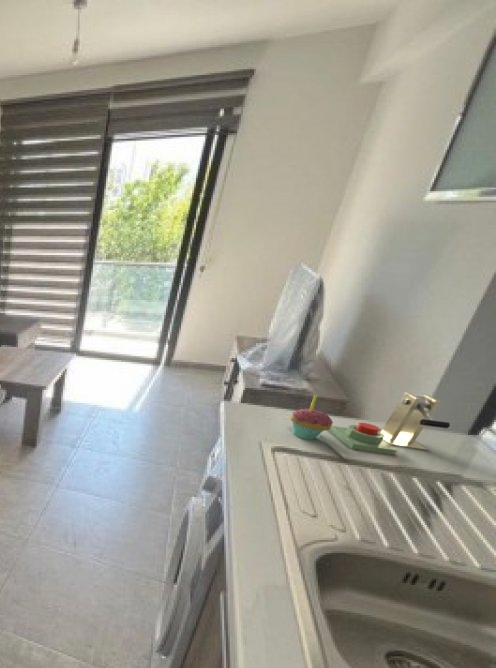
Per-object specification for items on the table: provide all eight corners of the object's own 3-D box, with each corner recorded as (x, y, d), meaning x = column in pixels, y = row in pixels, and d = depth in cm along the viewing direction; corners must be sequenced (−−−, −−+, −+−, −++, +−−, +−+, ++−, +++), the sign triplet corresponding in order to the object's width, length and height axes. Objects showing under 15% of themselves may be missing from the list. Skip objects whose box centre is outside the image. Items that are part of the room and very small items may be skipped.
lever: (444, 431, 114) (452, 423, 113) (420, 427, 115) (427, 420, 114) (423, 405, 121) (431, 397, 120) (400, 402, 122) (407, 394, 121)
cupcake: (294, 440, 123) (316, 397, 117) (276, 426, 130) (297, 385, 124) (330, 445, 122) (355, 401, 116) (311, 430, 129) (333, 388, 123)
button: (379, 437, 119) (383, 430, 118) (360, 434, 119) (364, 428, 119) (370, 430, 122) (373, 424, 121) (352, 427, 123) (355, 421, 122)
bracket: (424, 453, 120) (456, 406, 114) (387, 448, 122) (416, 401, 116) (399, 436, 129) (428, 392, 122) (365, 431, 130) (391, 387, 124)
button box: (391, 458, 117) (401, 443, 115) (349, 451, 119) (357, 437, 117) (366, 438, 126) (374, 425, 124) (327, 432, 128) (334, 419, 126)
